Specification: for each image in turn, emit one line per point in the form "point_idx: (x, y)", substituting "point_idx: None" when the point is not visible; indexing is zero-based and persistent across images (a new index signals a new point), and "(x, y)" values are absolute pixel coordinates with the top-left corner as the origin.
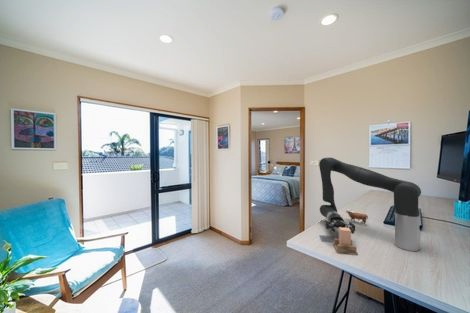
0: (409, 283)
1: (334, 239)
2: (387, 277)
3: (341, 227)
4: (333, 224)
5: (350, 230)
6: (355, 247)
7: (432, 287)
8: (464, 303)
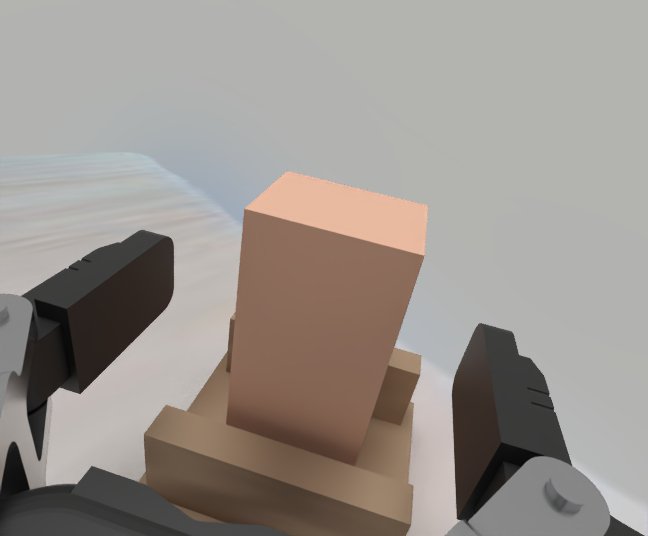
0: (175, 202)
1: (410, 505)
2: (234, 230)
3: (371, 241)
4: (477, 514)
5: (284, 174)
6: None
7: (108, 181)
8: (107, 152)
